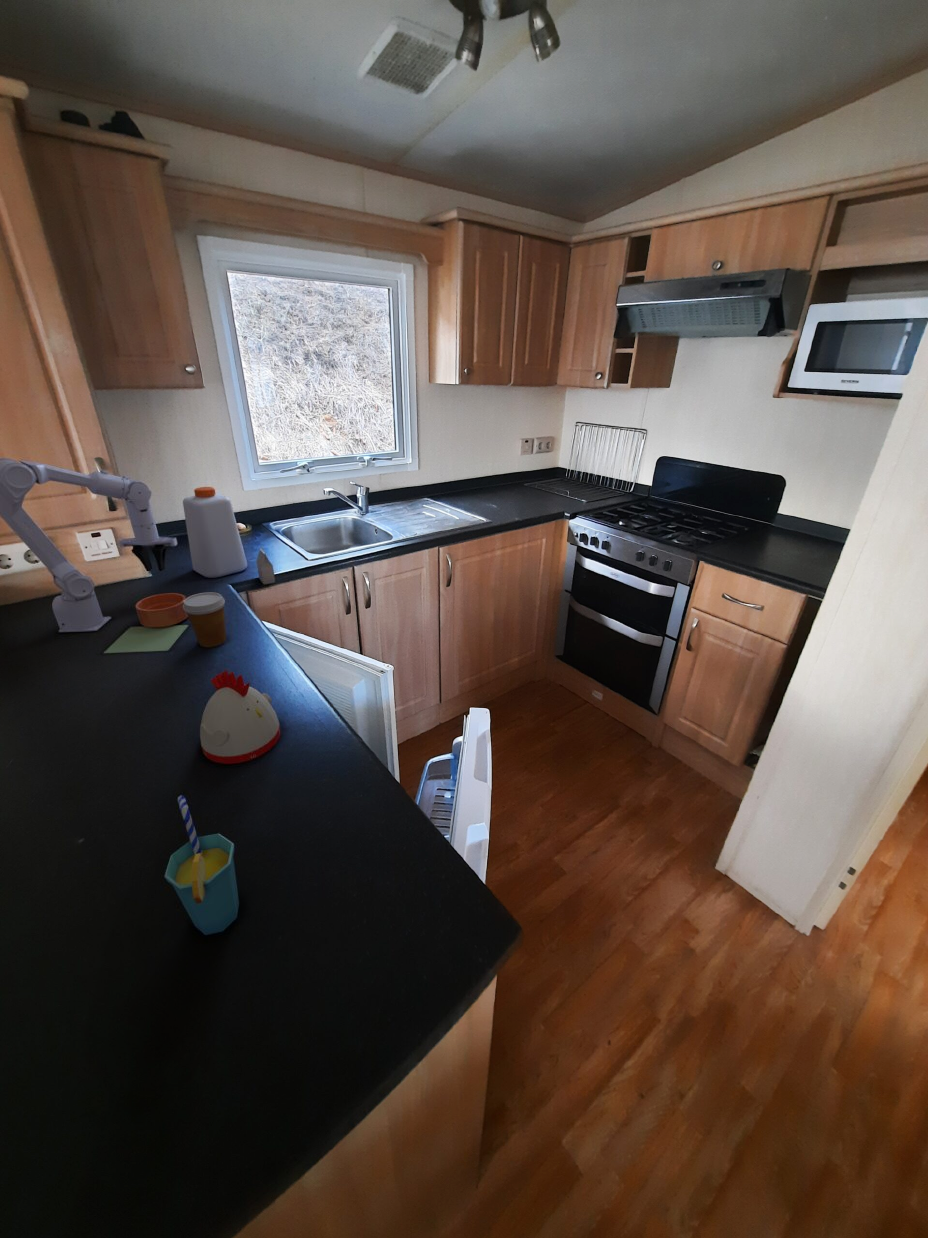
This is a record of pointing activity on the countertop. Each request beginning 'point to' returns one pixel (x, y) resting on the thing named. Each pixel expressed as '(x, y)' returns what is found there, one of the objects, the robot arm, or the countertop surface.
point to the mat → (147, 639)
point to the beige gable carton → (265, 568)
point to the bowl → (161, 610)
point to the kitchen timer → (237, 722)
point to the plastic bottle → (213, 534)
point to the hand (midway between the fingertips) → (155, 569)
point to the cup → (205, 878)
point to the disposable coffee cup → (207, 617)
